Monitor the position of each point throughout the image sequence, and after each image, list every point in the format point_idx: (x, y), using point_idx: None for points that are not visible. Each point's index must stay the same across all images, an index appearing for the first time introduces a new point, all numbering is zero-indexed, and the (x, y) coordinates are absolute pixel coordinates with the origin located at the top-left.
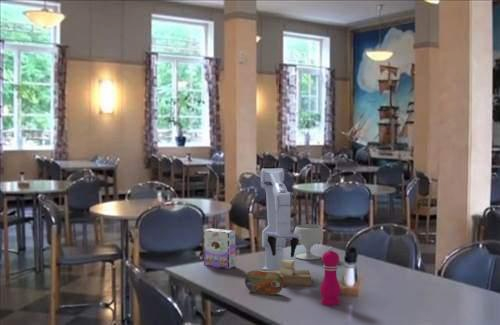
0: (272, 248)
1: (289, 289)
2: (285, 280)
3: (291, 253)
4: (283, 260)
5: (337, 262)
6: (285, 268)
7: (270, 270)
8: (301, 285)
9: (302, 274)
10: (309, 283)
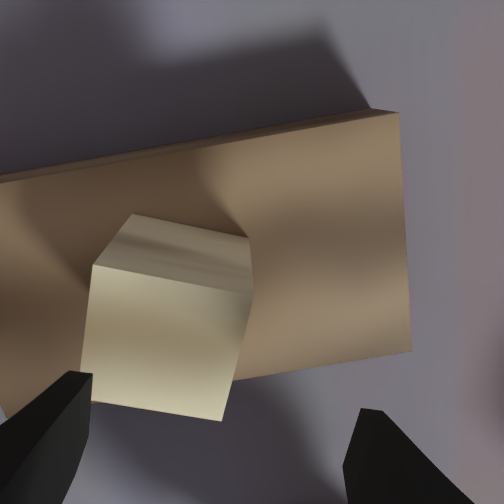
0: (434, 488)
1: (131, 10)
2: (184, 145)
3: (57, 401)
4: (221, 378)
5: None
6: (185, 249)
7: (356, 358)
8: (47, 166)
9: (25, 275)
10: None
